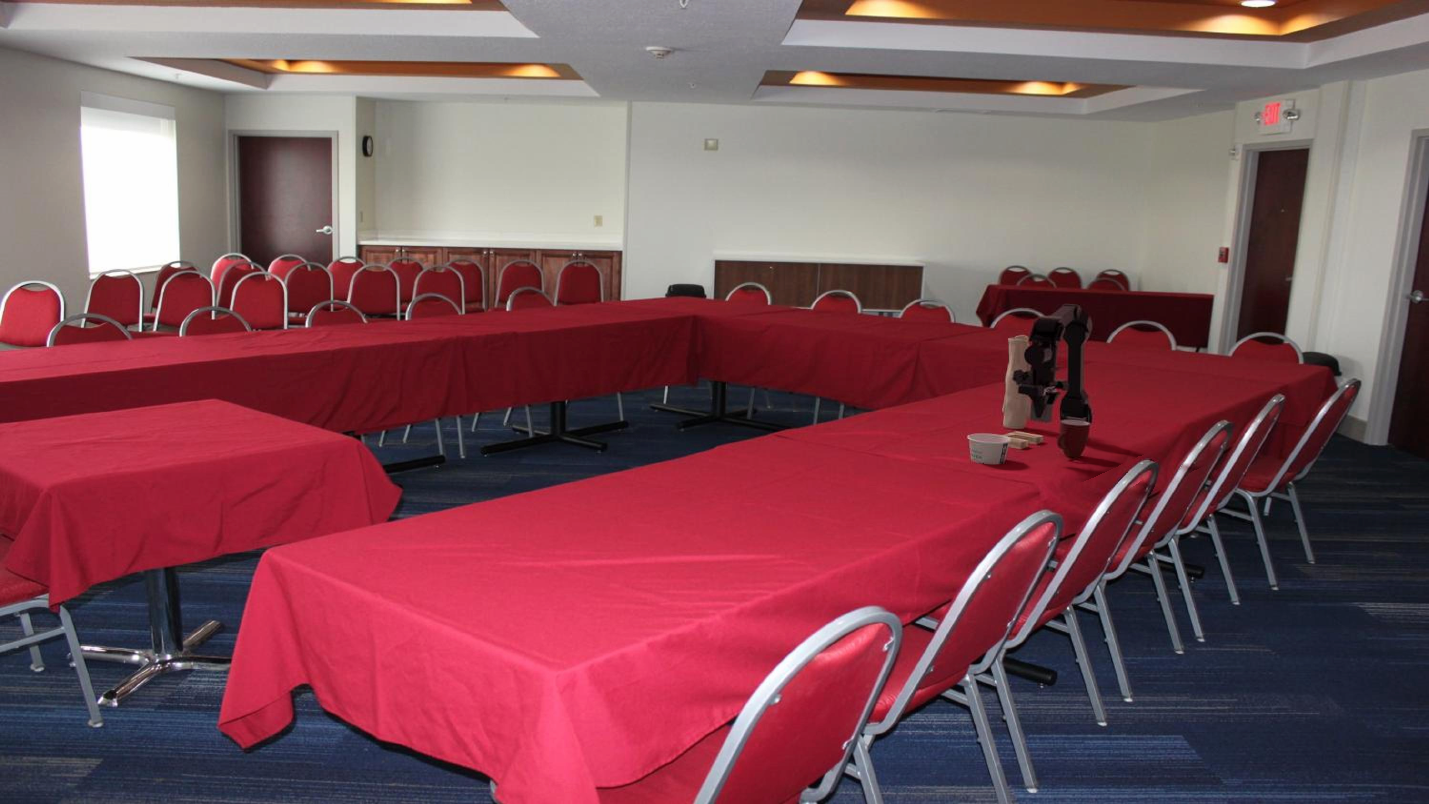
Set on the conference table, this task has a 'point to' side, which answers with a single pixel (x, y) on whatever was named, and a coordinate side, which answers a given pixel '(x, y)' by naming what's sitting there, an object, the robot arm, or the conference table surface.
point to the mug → (1073, 437)
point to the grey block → (1045, 415)
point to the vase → (1016, 386)
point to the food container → (988, 448)
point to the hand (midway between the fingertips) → (1041, 417)
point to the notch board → (1023, 439)
